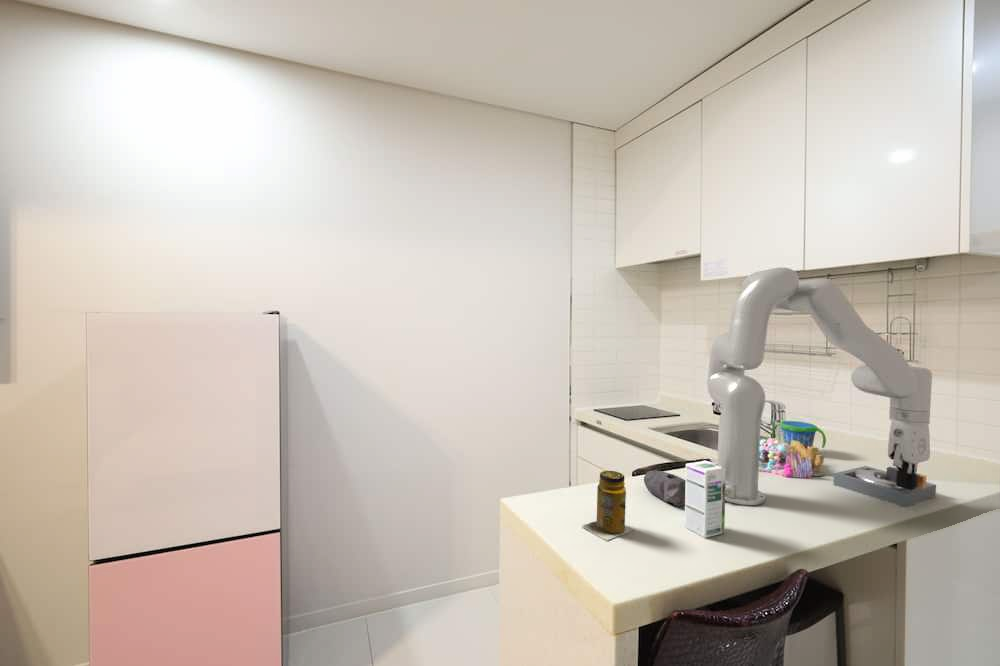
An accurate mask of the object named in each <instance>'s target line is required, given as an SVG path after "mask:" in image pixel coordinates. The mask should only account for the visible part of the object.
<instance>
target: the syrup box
mask: <svg viewBox="0 0 1000 666" xmlns="http://www.w3.org/2000/svg"><path fill="white" fill-rule="evenodd" d="M725 473H726V469H725V468H724V467H722V466H720V465H718V464H717V463H715V462H712V461H708V460H702V461H695V462H688V463H685V480H686V483H685V506H684V527H685V528H686V529H688V530H689V529H690V530H689V531H691V530H692V531H691V532H693V531H694V532H696V533H697V534H696V533H695V534H696V535H698V534H699V535H698V536H700V535H701V536H700V537H702V538H703V539H708V538H709V537H714V536H718V535H723V534H725V521H726V520H725V519H726V516H725V515H726V514H725V513H726V501H725ZM694 532H693V533H694Z"/></svg>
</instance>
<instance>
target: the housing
mask: <svg viewBox="0 0 1000 666" xmlns="http://www.w3.org/2000/svg"><path fill="white" fill-rule="evenodd" d="M858 470H875V471H882V472H887V470H883V469H879V468H874V467H870V466H868V465H864V466H860V467H856V468H851V469H846V470H843V471H838V472H834V473H833V486H838V487H839V488H844V489H846V490H850V491H852V492H856V493H859V494H862V495H865V496H868V497H872V498H874V499H875V498H876V499H879V500H881V501H884V502H887V503H890V504H894V505H897V506H900V507H904V508H905V507H908V506H911V505H914V504H917V503H920V502H924V501H927V500H930V499H933V498H935V497H936V493H937V485H936V484H934V483H930V482H927V481H926V488H924V489H921V488H916V487H915V489H912V490H909V489H906V490H903V491H898V490H895V489H892V488H888V487H885V486H881V485H878V484H874V483H871V482H868V481H864V480H861V479H857V478H855V473H856V471H858Z"/></svg>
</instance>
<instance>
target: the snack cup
mask: <svg viewBox="0 0 1000 666" xmlns="http://www.w3.org/2000/svg"><path fill="white" fill-rule="evenodd" d="M779 426H780V429H781V432H782V439H783V443H787V444H788V445H789V447H790V443H791V441H792V440H794V441H799V442H800V443H801V444H802V445H804V446H805V448H806V449H807V447H808V446H809V447H812V446H814V441H815V435H816V433H817V432H818V433H820V434H821V436H822V445H821V448H822V449H824V448H825V446H826V443H827V439H826V435H825V432H824V431H823V430H822V429H820V428H819V427H818V426H817V425H816V424H813V423H810V422H805V421H804V422H803V421H795V420H783V421H780V422H779V423H777V424H775V425H774V426H773V428H772V430H771V438H776V432H775V429H777V427H779ZM790 449H791V448H790Z"/></svg>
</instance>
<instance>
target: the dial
mask: <svg viewBox="0 0 1000 666" xmlns="http://www.w3.org/2000/svg"><path fill="white" fill-rule="evenodd" d="M915 474H916V482H915V487H916V488H921V489H924V488H926V482H927V475H924V474H920V473H917V472H916V473H915ZM855 478H857V479H861V480H864V481H868V482H871V483H874V484H878V485H881V486H885V487H888V488H892V489H895V490H898V491H903V490H906V489H905V488H902V487H898V486H897V485H896V480H897V470H896V467H895V466H887V467H886V472H882V471H875V470H858V471H856V473H855Z"/></svg>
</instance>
